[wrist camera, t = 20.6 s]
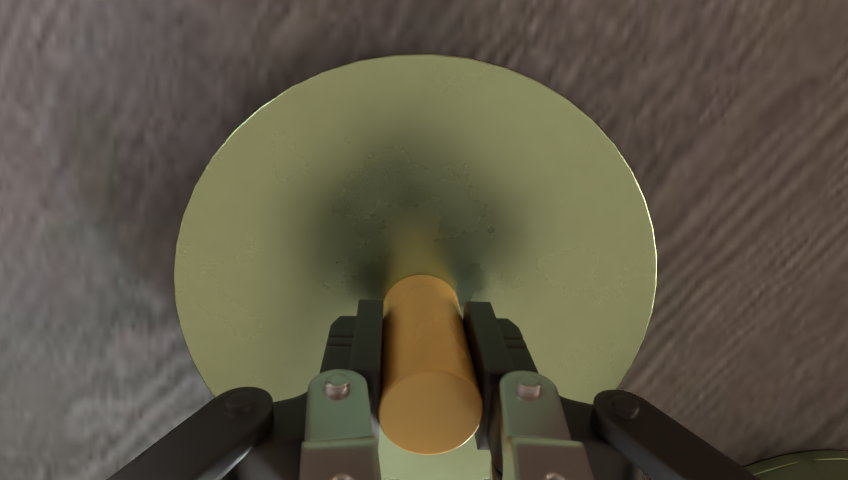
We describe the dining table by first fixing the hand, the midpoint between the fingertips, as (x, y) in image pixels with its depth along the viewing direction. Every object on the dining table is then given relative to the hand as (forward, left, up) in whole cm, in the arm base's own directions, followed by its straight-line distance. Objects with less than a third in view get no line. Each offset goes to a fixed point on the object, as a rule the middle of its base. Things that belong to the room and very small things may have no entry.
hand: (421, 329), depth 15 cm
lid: (0, 0, -2) cm, 2 cm away
